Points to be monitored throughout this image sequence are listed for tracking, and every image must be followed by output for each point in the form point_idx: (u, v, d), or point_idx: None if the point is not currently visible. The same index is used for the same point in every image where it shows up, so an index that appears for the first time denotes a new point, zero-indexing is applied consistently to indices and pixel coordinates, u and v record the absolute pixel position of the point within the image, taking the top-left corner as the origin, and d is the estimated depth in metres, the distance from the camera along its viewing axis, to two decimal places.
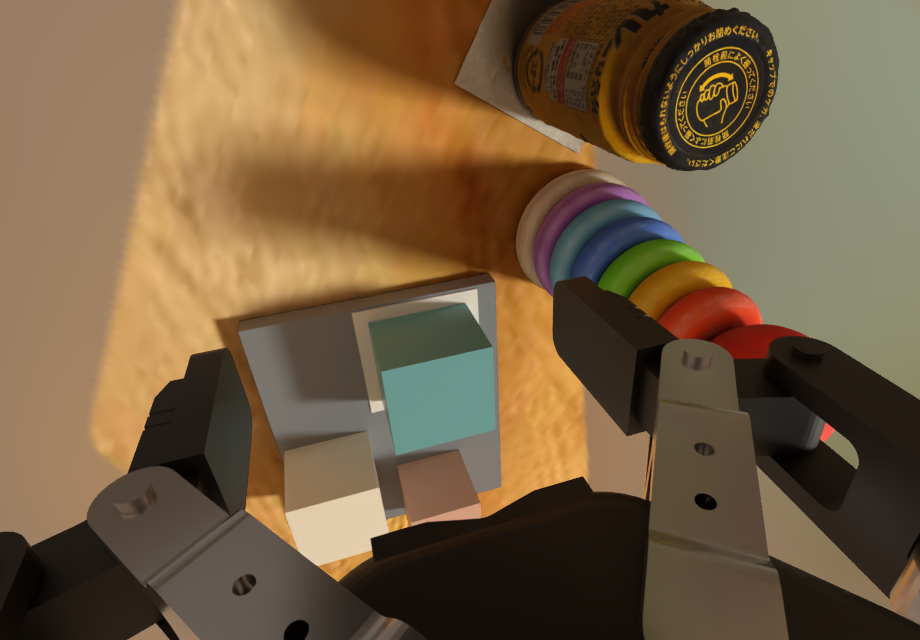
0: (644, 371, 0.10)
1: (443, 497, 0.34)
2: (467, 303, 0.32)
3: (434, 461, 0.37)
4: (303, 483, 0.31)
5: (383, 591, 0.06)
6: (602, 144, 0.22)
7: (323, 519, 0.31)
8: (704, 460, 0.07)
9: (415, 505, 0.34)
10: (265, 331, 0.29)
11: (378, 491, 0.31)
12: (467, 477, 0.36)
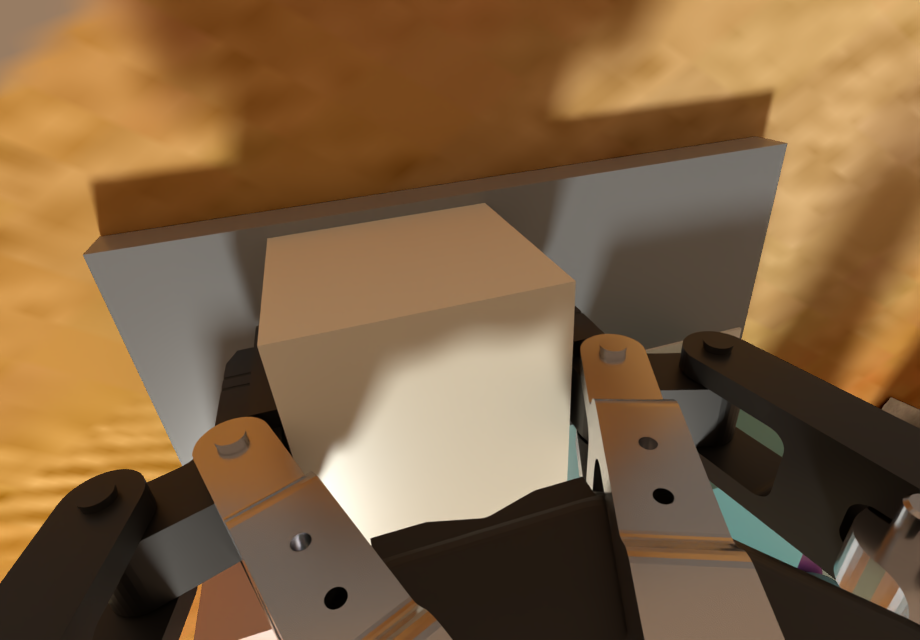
0: None
1: None
2: None
3: None
4: None
5: None
6: None
7: (504, 384, 0.10)
8: (650, 454, 0.07)
9: None
10: (767, 191, 0.16)
11: None
12: None
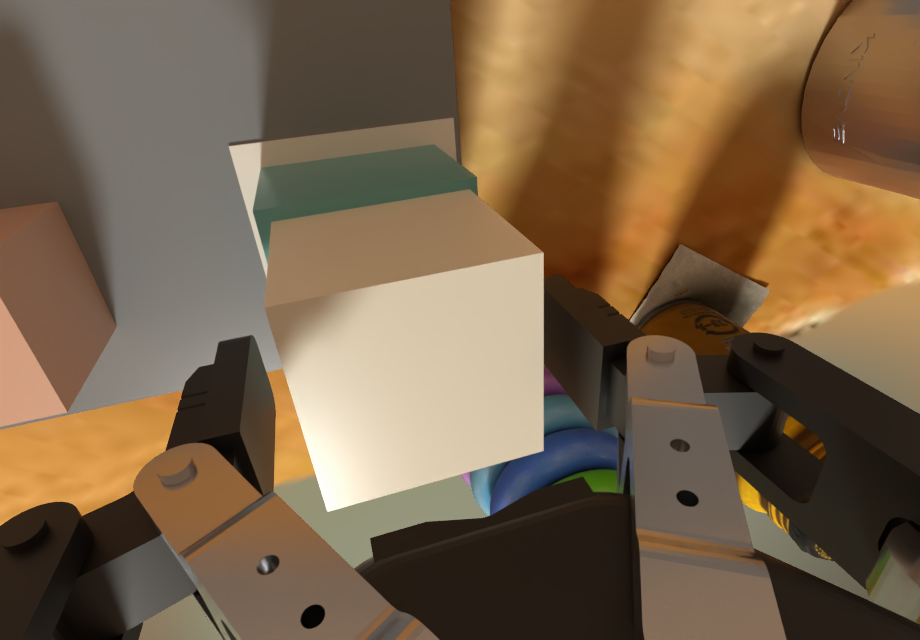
0: (611, 368, 0.10)
1: (48, 324, 0.14)
2: None
3: (88, 283, 0.17)
4: None
5: (383, 591, 0.06)
6: None
7: (483, 346, 0.11)
8: (680, 457, 0.07)
9: (12, 261, 0.13)
10: None
11: (532, 451, 0.13)
12: (91, 363, 0.16)
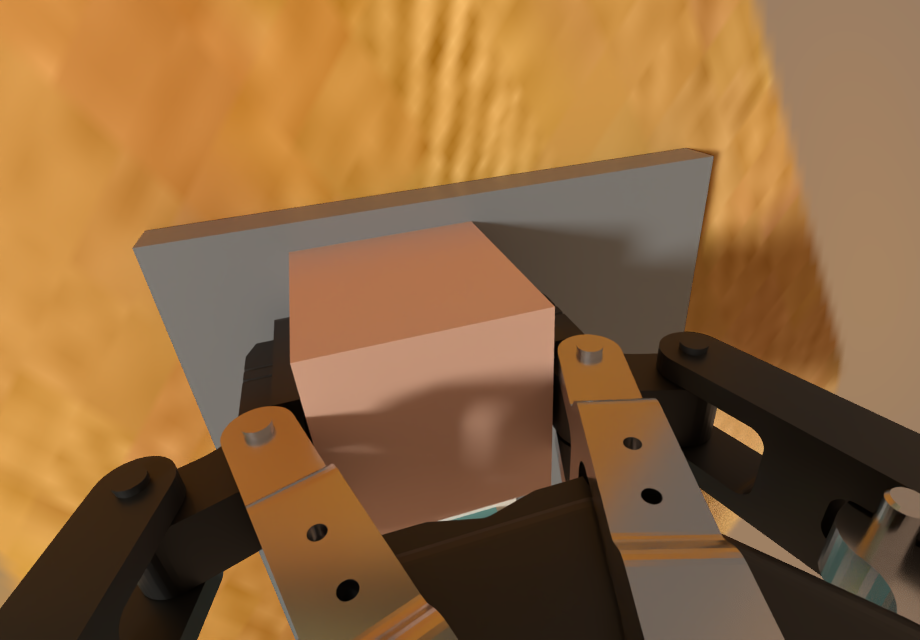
0: None
1: None
2: None
3: None
4: None
5: None
6: None
7: None
8: (634, 454, 0.07)
9: None
10: None
11: None
12: None
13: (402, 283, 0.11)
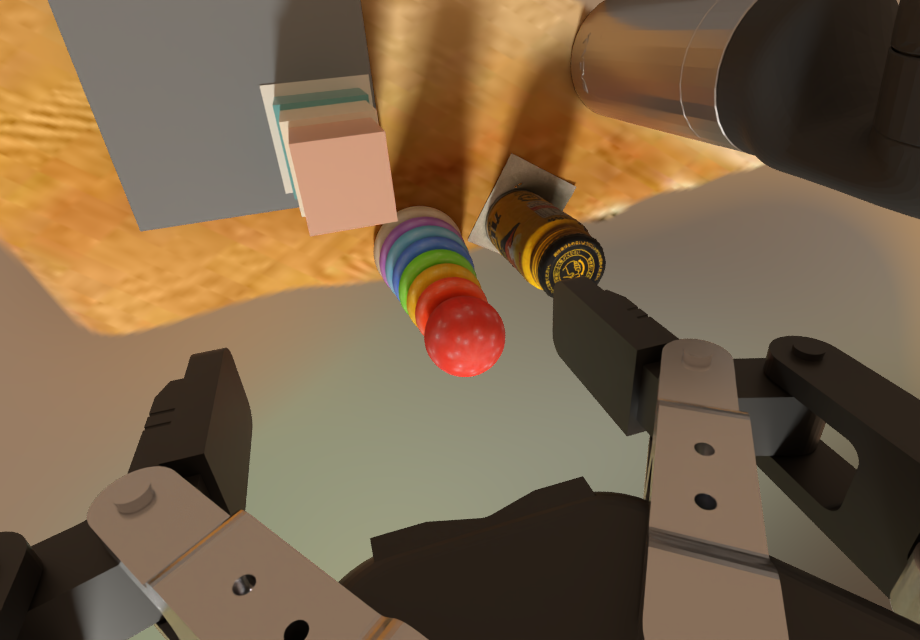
0: (644, 371, 0.10)
1: None
2: None
3: None
4: None
5: (383, 591, 0.06)
6: (529, 230, 0.39)
7: None
8: (703, 460, 0.07)
9: None
10: None
11: None
12: None
13: (333, 130, 0.27)
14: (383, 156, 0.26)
